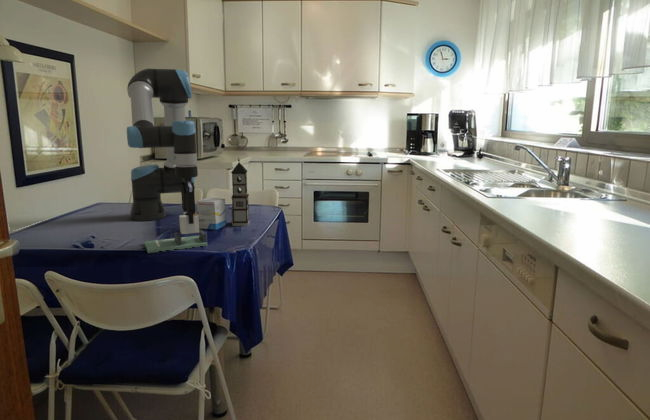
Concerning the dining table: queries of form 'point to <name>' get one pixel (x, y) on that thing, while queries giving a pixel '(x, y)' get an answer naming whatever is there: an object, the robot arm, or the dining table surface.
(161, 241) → the board
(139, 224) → the dining table surface
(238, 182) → the miniature building
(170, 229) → the dining table surface
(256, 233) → the dining table surface
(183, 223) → the plug
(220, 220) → the ink box
